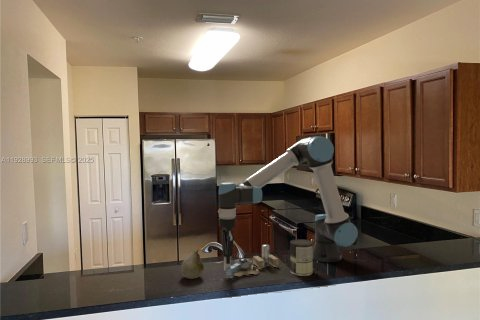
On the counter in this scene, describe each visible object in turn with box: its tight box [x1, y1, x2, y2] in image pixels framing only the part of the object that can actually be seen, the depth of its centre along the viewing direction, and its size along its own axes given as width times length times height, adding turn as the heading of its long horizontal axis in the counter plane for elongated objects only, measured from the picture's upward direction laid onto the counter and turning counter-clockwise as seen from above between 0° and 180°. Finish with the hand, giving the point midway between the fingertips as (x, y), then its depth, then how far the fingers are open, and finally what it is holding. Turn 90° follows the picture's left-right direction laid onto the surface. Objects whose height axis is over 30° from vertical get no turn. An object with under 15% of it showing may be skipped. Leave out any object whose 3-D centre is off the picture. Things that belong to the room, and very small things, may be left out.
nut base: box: [233, 265, 260, 277], centre depth 164 cm, size 11×11×3 cm
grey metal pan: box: [225, 257, 253, 276], centre depth 160 cm, size 16×8×4 cm, turn 149°
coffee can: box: [289, 238, 314, 277], centre depth 162 cm, size 10×10×14 cm
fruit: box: [180, 249, 205, 280], centre depth 156 cm, size 10×9×12 cm
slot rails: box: [252, 254, 279, 270], centre depth 172 cm, size 10×8×4 cm
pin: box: [261, 244, 270, 266], centre depth 172 cm, size 4×4×10 cm
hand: (227, 270), depth 157 cm, fingers closed
